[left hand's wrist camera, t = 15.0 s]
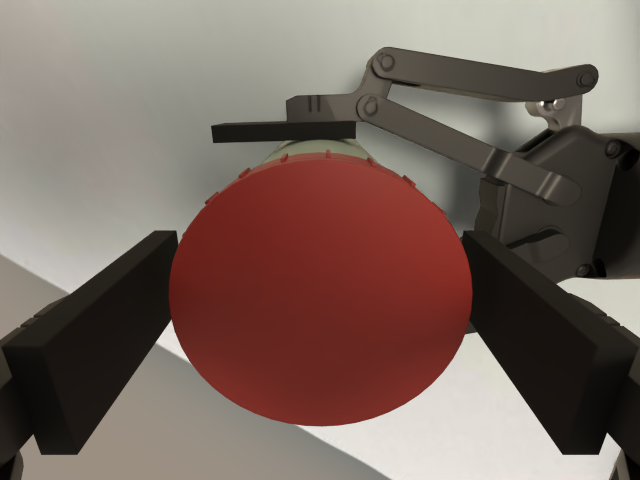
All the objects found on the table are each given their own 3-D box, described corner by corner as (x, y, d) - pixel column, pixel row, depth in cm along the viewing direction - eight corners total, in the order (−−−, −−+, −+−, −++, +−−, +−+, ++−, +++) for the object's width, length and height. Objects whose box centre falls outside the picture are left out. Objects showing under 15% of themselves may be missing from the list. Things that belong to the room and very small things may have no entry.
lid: (489, 168, 10) (517, 178, 9) (423, 402, 13) (436, 439, 12) (183, 131, 10) (160, 136, 8) (187, 380, 13) (170, 416, 11)
